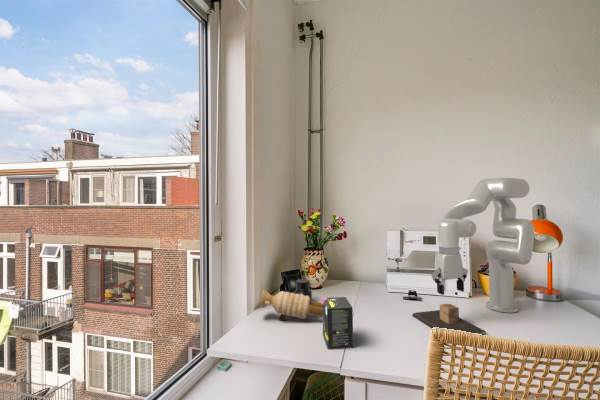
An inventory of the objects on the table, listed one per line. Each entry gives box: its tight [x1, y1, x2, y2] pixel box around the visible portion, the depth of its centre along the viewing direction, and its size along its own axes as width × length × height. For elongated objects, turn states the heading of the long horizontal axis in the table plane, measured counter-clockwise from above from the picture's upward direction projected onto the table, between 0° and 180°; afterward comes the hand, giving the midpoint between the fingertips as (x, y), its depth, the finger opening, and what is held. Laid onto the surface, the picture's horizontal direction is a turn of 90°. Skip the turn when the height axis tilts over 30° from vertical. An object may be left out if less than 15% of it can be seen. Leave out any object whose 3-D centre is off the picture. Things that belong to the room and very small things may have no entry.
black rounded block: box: [402, 289, 424, 302], centre depth 153 cm, size 12×7×5 cm, turn 71°
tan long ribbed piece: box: [259, 289, 323, 322], centre depth 128 cm, size 10×12×30 cm
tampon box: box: [322, 296, 354, 350], centre depth 108 cm, size 11×9×15 cm
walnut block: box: [439, 303, 460, 324], centre depth 121 cm, size 5×5×6 cm
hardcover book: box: [412, 309, 487, 336], centre depth 121 cm, size 16×23×2 cm
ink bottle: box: [293, 278, 313, 301], centre depth 146 cm, size 10×9×12 cm
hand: (450, 292), depth 122 cm, fingers open, 9 cm apart
